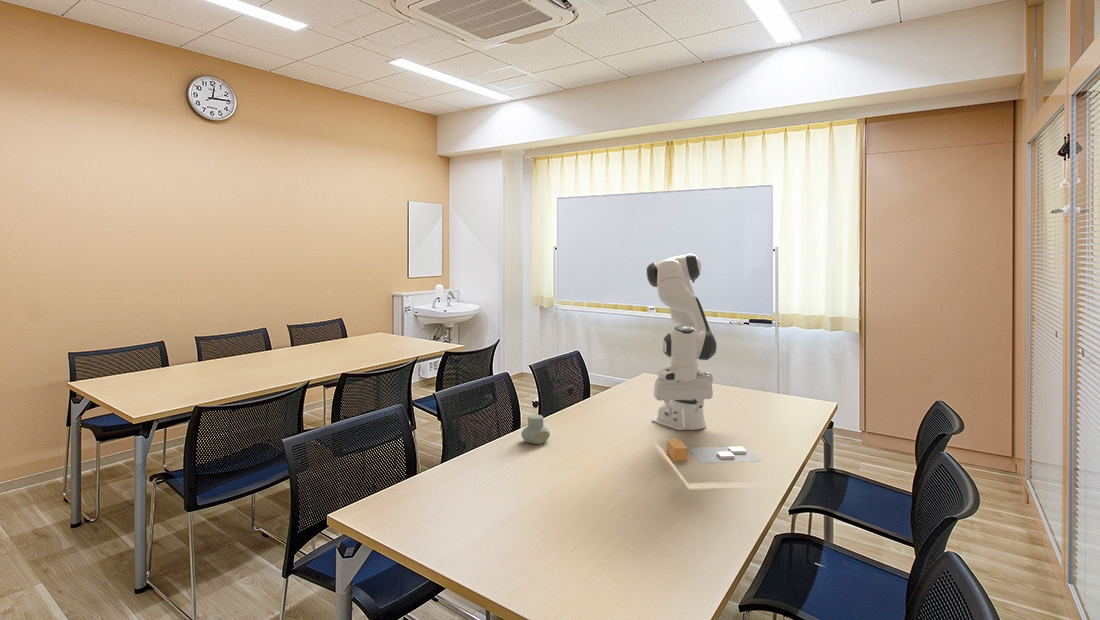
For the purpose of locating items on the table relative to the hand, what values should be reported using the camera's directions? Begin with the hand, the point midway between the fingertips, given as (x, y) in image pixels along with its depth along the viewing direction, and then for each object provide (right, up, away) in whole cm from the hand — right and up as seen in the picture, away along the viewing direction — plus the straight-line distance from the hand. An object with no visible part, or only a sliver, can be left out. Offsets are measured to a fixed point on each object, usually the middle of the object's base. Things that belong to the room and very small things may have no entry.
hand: (682, 411), depth 191 cm
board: (+15, -17, +4) cm, 24 cm away
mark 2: (+21, -16, +6) cm, 27 cm away
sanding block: (-2, -18, +3) cm, 18 cm away
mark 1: (+15, -16, +2) cm, 22 cm away
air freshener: (-52, -16, +20) cm, 58 cm away
